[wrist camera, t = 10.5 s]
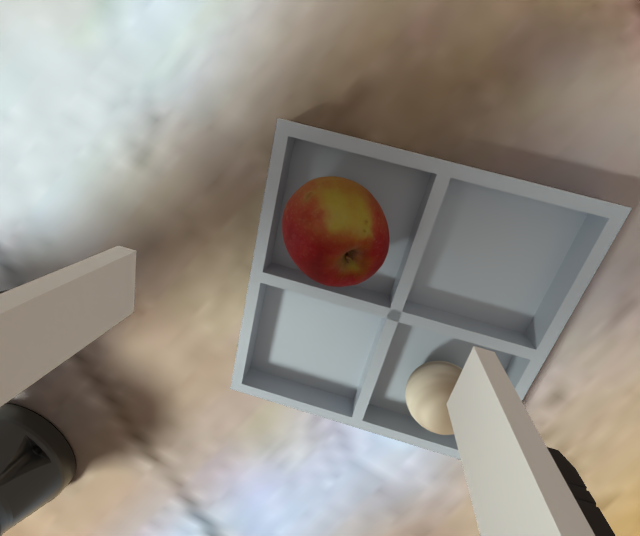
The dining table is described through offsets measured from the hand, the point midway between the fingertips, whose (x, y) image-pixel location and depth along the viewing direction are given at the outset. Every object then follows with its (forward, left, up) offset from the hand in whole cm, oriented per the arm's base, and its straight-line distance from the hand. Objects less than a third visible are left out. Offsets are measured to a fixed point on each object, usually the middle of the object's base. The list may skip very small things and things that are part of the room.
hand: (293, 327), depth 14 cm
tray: (+6, -6, -19) cm, 20 cm away
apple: (0, 0, -18) cm, 18 cm away
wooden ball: (+12, -12, -18) cm, 24 cm away
